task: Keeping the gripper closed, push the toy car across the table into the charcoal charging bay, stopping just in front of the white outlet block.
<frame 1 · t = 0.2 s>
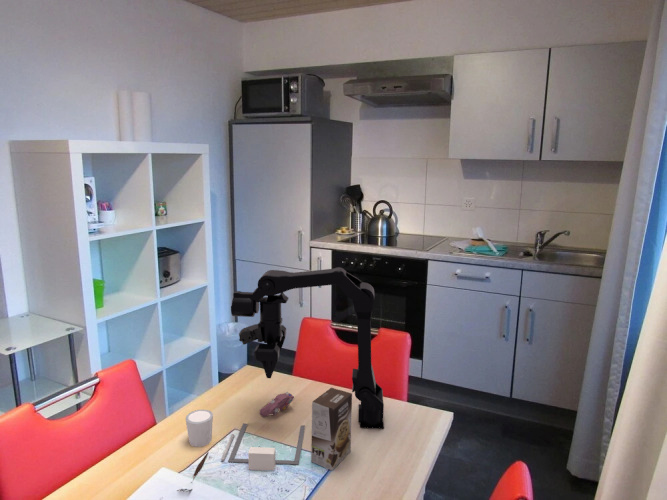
hand: (271, 370, 133), 14 cm above the table, tool pointing down, fingers open, 9 cm apart
charging dock: (269, 442, 123), on the table
coffee box: (331, 457, 118), on the table
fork: (196, 475, 111), on the table
shot glass: (200, 441, 124), on the table
toy car: (277, 412, 138), on the table
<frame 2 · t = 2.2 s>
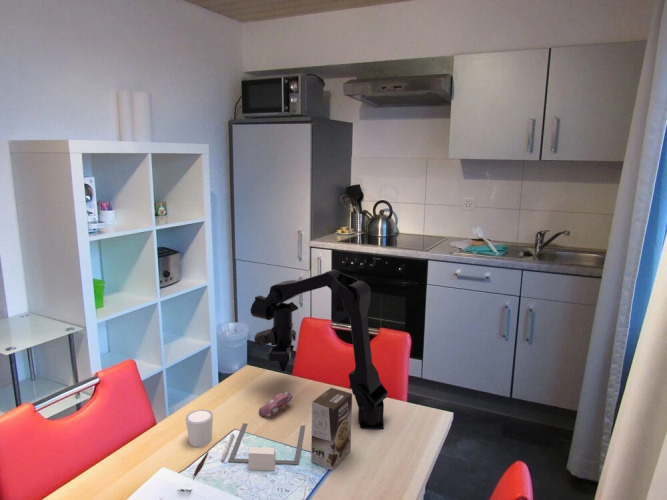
hand: (283, 370, 147), 8 cm above the table, tool pointing down, fingers closed
nothing on the table moved.
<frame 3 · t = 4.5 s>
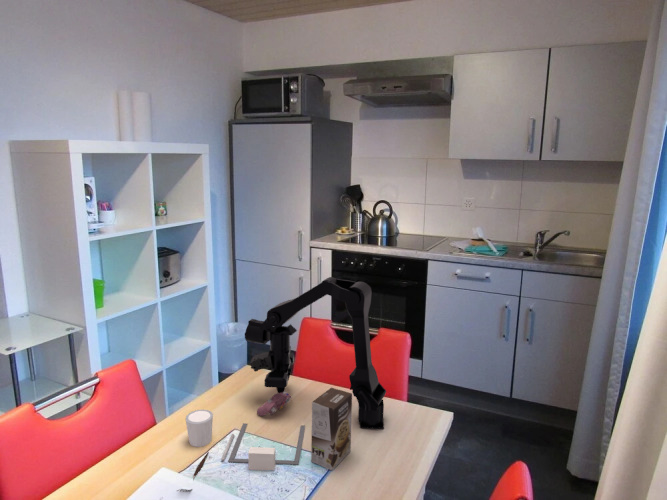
hand: (280, 394, 143), 3 cm above the table, tool pointing down, fingers closed
toy car: (274, 412, 138), on the table, touching gripper
everything else where it was.
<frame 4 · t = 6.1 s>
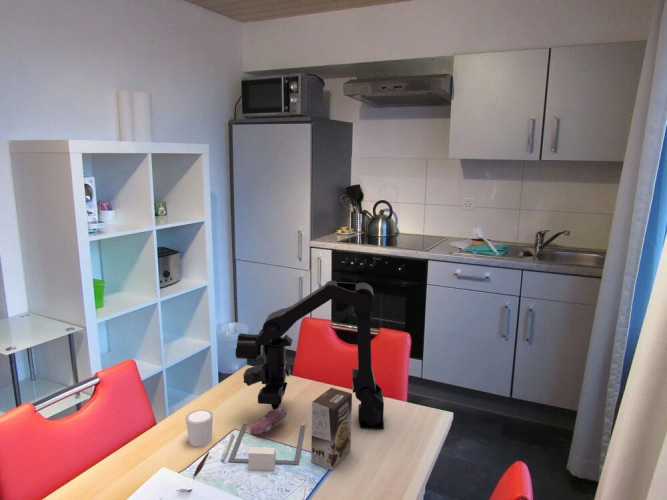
hand: (275, 410, 134), 3 cm above the table, tool pointing down, fingers closed
toy car: (269, 429, 130), on the table, touching gripper
everything else where it was.
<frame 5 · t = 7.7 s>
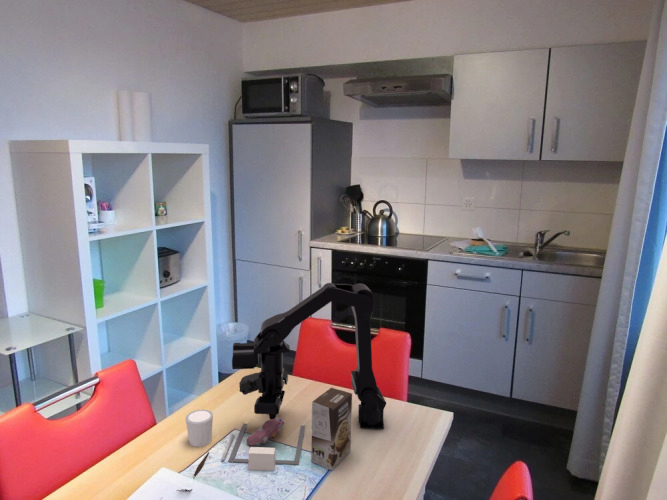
hand: (272, 420, 129), 3 cm above the table, tool pointing down, fingers closed
toy car: (266, 440, 125), on the table, touching gripper
everything else where it was.
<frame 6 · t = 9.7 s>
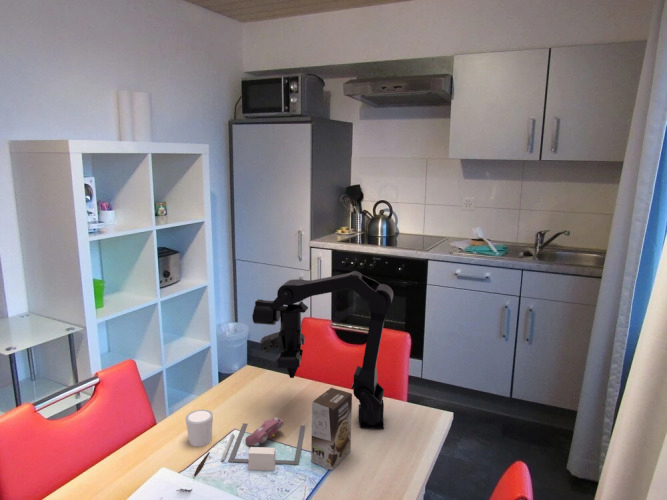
hand: (292, 377, 136), 11 cm above the table, tool pointing down, fingers closed
toy car: (265, 440, 125), on the table
everything else where it was.
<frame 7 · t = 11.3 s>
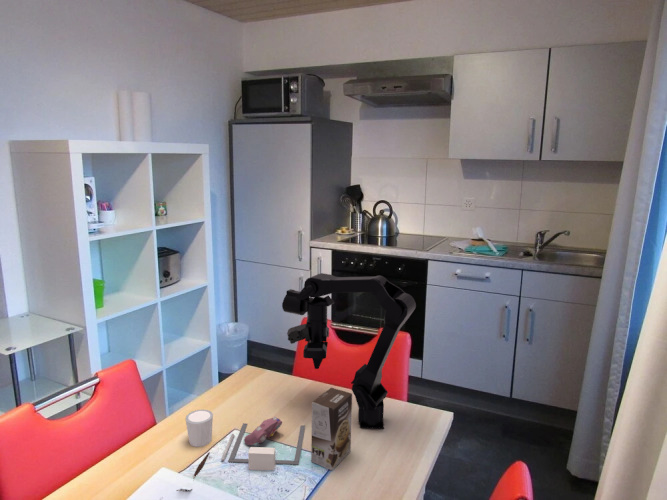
hand: (316, 368, 139), 12 cm above the table, tool pointing down, fingers closed
nothing on the table moved.
at the end: toy car inside the target area on the charging dock (1.9 cm from its centre), point 0.0 cm above the charging dock's base; toy car moved 13.5 cm from its start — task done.
